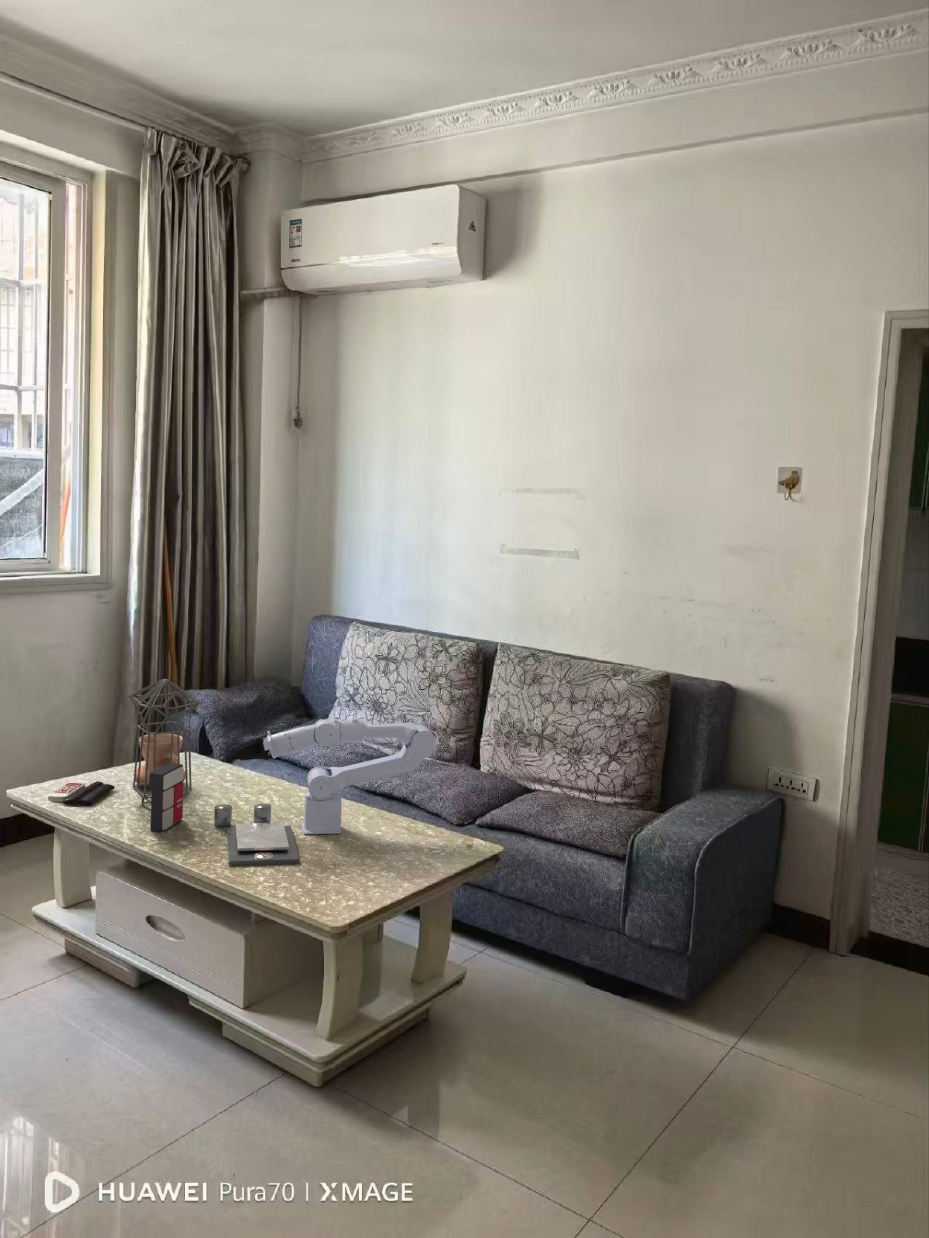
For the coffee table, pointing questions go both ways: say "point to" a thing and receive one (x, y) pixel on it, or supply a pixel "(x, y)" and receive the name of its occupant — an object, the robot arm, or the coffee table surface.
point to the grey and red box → (166, 796)
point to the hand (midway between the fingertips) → (237, 755)
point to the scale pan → (261, 836)
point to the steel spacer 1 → (223, 816)
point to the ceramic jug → (158, 754)
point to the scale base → (261, 852)
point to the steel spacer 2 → (262, 813)
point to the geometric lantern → (159, 685)
